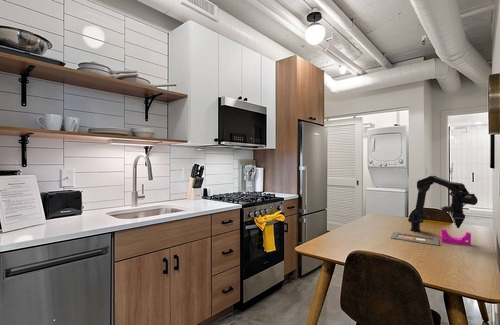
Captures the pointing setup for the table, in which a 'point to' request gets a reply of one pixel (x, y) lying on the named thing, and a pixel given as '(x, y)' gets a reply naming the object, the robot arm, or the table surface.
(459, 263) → the table surface
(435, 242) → the frame
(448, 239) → the toy block
